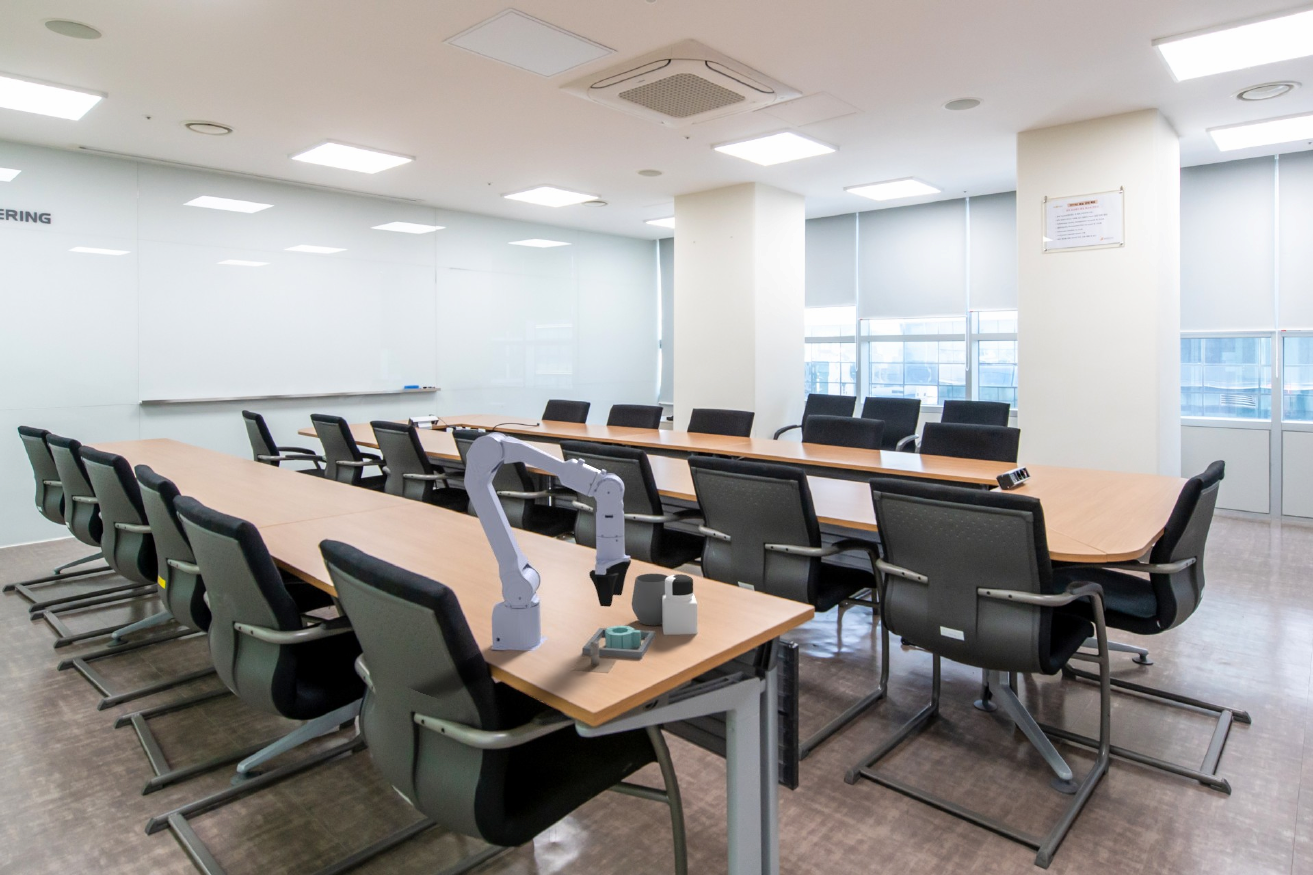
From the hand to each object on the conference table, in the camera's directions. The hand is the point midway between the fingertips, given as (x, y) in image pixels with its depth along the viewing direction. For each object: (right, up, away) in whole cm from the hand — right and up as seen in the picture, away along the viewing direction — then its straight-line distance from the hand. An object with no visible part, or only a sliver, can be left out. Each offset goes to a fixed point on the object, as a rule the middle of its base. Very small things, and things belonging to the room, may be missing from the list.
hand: (611, 600), depth 156 cm
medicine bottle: (+14, -9, +8) cm, 19 cm away
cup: (+8, -8, +15) cm, 19 cm away
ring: (+2, -9, -1) cm, 9 cm away
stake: (-2, -10, -11) cm, 15 cm away
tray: (+2, -9, -1) cm, 10 cm away
